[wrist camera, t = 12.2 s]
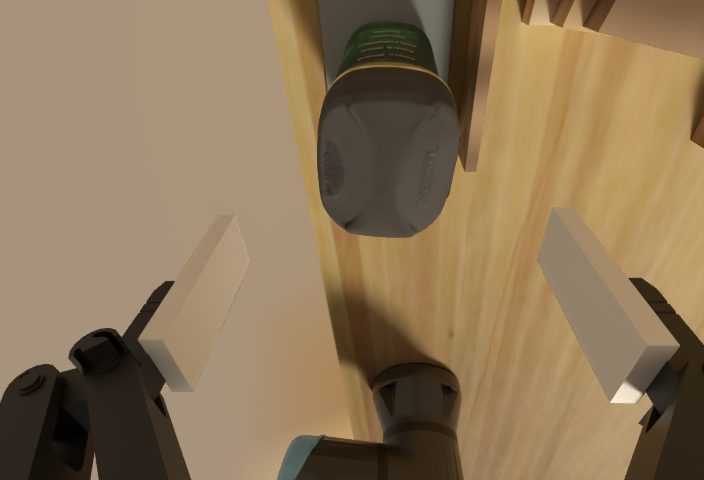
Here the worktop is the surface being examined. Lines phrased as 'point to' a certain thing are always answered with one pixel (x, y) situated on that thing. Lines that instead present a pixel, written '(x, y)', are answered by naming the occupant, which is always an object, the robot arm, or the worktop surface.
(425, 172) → the coffee jar
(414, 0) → the mat
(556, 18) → the offcut middle
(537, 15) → the offcut bottom
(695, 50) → the offcut top
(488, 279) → the worktop surface
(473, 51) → the wooden open enclosure
